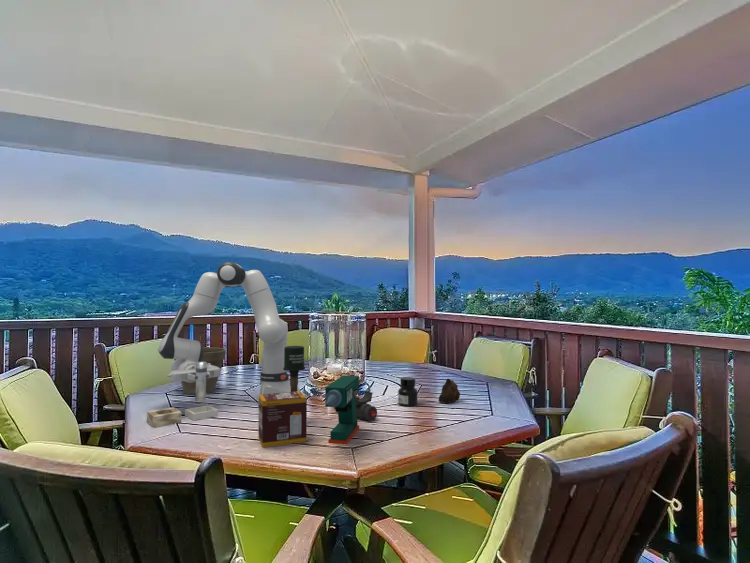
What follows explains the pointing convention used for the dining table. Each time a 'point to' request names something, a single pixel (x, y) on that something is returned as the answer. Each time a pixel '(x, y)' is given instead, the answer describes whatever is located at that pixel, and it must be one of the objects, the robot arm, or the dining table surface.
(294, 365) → the stick grenade
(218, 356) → the plant pot
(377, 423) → the dining table surface
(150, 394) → the dining table surface
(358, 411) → the laser sight
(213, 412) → the tray
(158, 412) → the socket block
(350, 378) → the power tool
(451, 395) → the decorative rock
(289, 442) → the supplement box
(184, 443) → the dining table surface
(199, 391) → the collared metal peg
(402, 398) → the ink bottle
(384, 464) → the dining table surface
